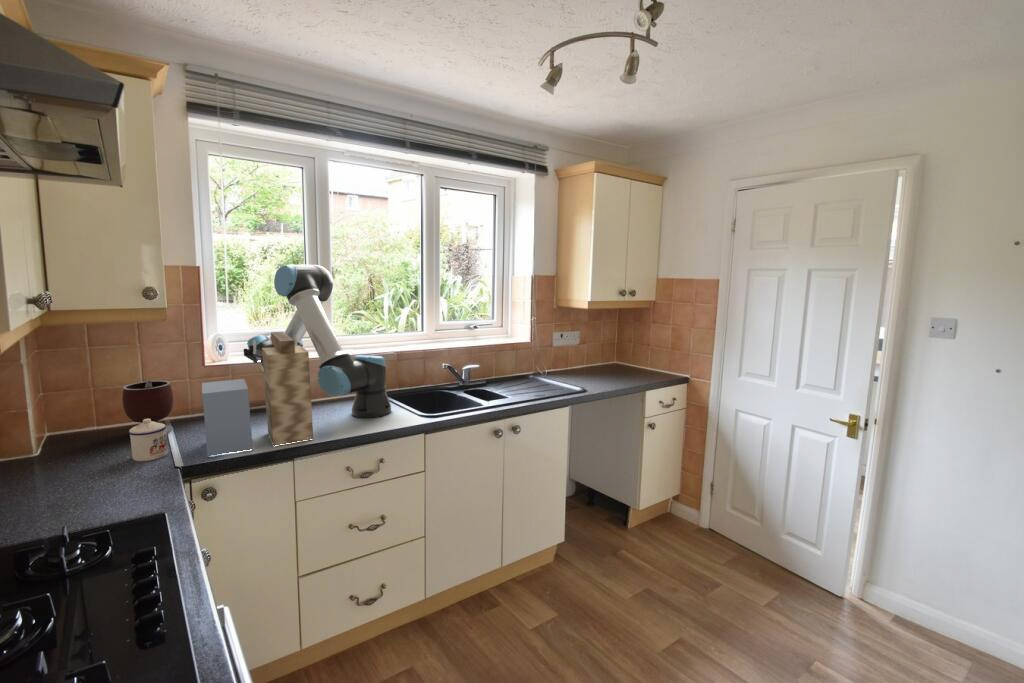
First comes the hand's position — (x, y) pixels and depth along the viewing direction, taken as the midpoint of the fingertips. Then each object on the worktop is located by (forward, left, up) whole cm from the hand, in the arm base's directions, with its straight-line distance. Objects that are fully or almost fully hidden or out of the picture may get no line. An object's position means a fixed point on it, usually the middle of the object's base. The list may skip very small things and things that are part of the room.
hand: (275, 342), depth 179 cm
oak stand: (-1, +19, -30) cm, 36 cm away
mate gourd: (+39, -9, -30) cm, 51 cm away
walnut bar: (-1, +14, 0) cm, 14 cm away
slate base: (+17, +19, -30) cm, 40 cm away
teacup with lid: (+37, +15, -30) cm, 50 cm away
